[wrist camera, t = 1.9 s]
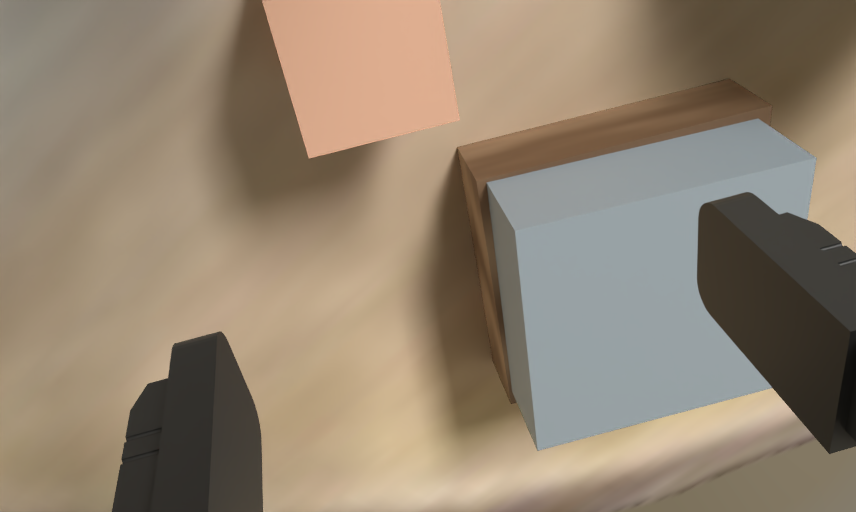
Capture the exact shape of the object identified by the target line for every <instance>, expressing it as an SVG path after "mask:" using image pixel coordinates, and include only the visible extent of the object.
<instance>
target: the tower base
mask: <svg viewBox="0 0 856 512" xmlns="http://www.w3.org/2000/svg"><path fill="white" fill-rule="evenodd" d="M771 112H772V105H770V104H769V103H767V102H766V101H764V100H762V99H761V98H759V97H758V96H756V95H755V94H753V93H751V92H750V91H748V90H747V89H745V88H744V87H742V86H740V85H739V84H737V83H736V82H734V81H733V80H731V79H726V80H722V81H718V82H714V83H710V84H706V85H702V86H699V87H695V88H691V89H687V90H683V91H679V92H675V93H671V94H667V95H663V96H659V97H655V98H651V99H647V100H643V101H639V102H635V103H631V104H627V105H623V106H619V107H615V108H611V109H607V110H603V111H599V112H595V113H591V114H587V115H583V116H579V117H575V118H571V119H567V120H563V121H559V122H555V123H551V124H547V125H543V126H539V127H535V128H532V129H528V130H524V131H520V132H516V133H512V134H508V135H504V136H500V137H496V138H492V139H488V140H484V141H480V142H476V143H472V144H468V145H464V146H460V147H457V149H458V155H459V161H460V167H461V173H462V179H463V185H464V191H465V197H466V203H467V209H468V215H469V221H470V227H471V233H472V239H473V245H474V251H475V257H476V263H477V269H478V275H479V281H480V287H481V293H482V299H483V305H484V311H485V317H486V323H487V329H488V335H489V341H490V347H491V353H492V359H493V362H494V365H495V367H496V369H497V372H498V374H499V377H500V379H501V381H502V384H503V386H504V388H505V391H506V393H507V396H508V398H509V400H510V403H511V404H513V403H517V402H516V399H515V397H514V395H513V393H512V386H511V378H510V370H509V362H508V354H507V346H506V337H505V329H504V321H503V313H502V305H501V297H500V288H499V280H498V272H497V264H496V256H495V248H494V240H493V231H492V223H491V215H490V207H489V199H488V191H487V182H491V181H495V180H499V179H504V178H508V177H512V176H516V175H521V174H525V173H529V172H533V171H538V170H542V169H546V168H550V167H555V166H559V165H563V164H567V163H572V162H576V161H580V160H584V159H588V158H593V157H597V156H601V155H605V154H610V153H614V152H618V151H622V150H627V149H631V148H635V147H639V146H644V145H648V144H652V143H656V142H661V141H665V140H669V139H673V138H677V137H682V136H686V135H690V134H694V133H699V132H703V131H707V130H711V129H716V128H720V127H724V126H728V125H733V124H737V123H741V122H745V121H749V120H754V119H760V120H761V121H763V122H764V123H766V124H767V125H769V126H770V123H771Z"/></svg>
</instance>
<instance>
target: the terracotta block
mask: <svg viewBox="0 0 856 512" xmlns="http://www.w3.org/2000/svg"><path fill="white" fill-rule="evenodd" d="M262 3H263V6H264V9H265V13H266V16H267V20H268V23H269V26H270V30H271V33H272V36H273V40H274V43H275V46H276V50H277V53H278V57H279V60H280V63H281V67H282V70H283V73H284V77H285V80H286V83H287V87H288V90H289V94H290V97H291V100H292V104H293V107H294V110H295V114H296V117H297V120H298V124H299V127H300V131H301V134H302V137H303V141H304V144H305V147H306V151H307V154H308V157H309V158H313V157H317V156H321V155H325V154H329V153H333V152H337V151H341V150H345V149H349V148H353V147H356V146H360V145H364V144H368V143H372V142H376V141H380V140H384V139H388V138H392V137H396V136H400V135H404V134H408V133H412V132H416V131H420V130H424V129H427V128H431V127H435V126H439V125H443V124H447V123H451V122H455V121H459V120H460V118H459V112H458V106H457V100H456V94H455V88H454V82H453V76H452V70H451V64H450V58H449V52H448V46H447V40H446V34H445V28H444V22H443V16H442V10H441V4H440V0H262Z"/></svg>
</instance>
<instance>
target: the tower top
mask: <svg viewBox="0 0 856 512" xmlns="http://www.w3.org/2000/svg"><path fill="white" fill-rule="evenodd" d="M815 165H816V157H814V156H813V155H811V154H810V153H808V152H807V151H806V150H804V149H803V148H801V147H800V146H798V145H797V144H795V143H794V142H792V141H791V140H789V139H788V138H786V137H785V136H783V135H782V134H780V133H779V132H777V131H776V130H774V129H773V128H771V127H770V126H769V125H767V124H766V123H764V122H763V121H761V120H760V119H754V120H749V121H745V122H741V123H737V124H733V125H728V126H724V127H720V128H716V129H711V130H707V131H703V132H699V133H694V134H690V135H686V136H682V137H677V138H673V139H669V140H665V141H661V142H656V143H652V144H648V145H644V146H639V147H635V148H631V149H627V150H622V151H618V152H614V153H610V154H605V155H601V156H597V157H593V158H588V159H584V160H580V161H576V162H572V163H567V164H563V165H559V166H555V167H550V168H546V169H542V170H538V171H533V172H529V173H525V174H521V175H516V176H512V177H508V178H504V179H499V180H495V181H491V182H487V191H488V199H489V207H490V215H491V223H492V231H493V240H494V248H495V256H496V264H497V272H498V280H499V288H500V297H501V305H502V313H503V321H504V329H505V337H506V346H507V354H508V362H509V370H510V378H511V386H512V393H513V395H514V397H515V399H516V402H517V404H518V406H519V409H520V411H521V413H522V416H523V418H524V420H525V423H526V425H527V427H528V430H529V432H530V434H531V437H532V439H533V441H534V444H535V446H536V448H537V450H538V451H539V450H542V449H546V448H550V447H554V446H557V445H561V444H565V443H569V442H572V441H576V440H580V439H583V438H587V437H591V436H595V435H598V434H602V433H606V432H610V431H613V430H617V429H621V428H625V427H628V426H632V425H636V424H639V423H643V422H647V421H651V420H654V419H658V418H662V417H666V416H669V415H673V414H677V413H681V412H684V411H688V410H692V409H695V408H699V407H703V406H707V405H710V404H714V403H718V402H722V401H725V400H729V399H733V398H736V397H740V396H744V395H748V394H751V393H755V392H759V391H763V390H766V389H770V388H772V387H771V385H770V384H769V383H768V382H767V381H766V380H765V378H764V377H763V376H762V375H761V374H760V373H759V371H758V370H757V369H756V368H755V367H754V366H753V364H752V363H751V362H750V361H749V360H748V359H747V357H746V356H745V355H744V354H743V353H742V352H741V350H740V349H739V348H738V347H737V346H736V345H735V343H734V342H733V341H732V340H731V339H730V338H729V336H728V335H727V334H726V333H725V332H724V331H723V329H722V328H721V327H720V326H719V325H718V324H717V322H716V321H715V320H714V319H713V318H712V317H711V315H710V314H709V313H708V311H707V310H706V308H705V306H704V304H703V302H702V300H701V297H700V294H699V290H698V285H697V251H698V216H699V210H700V208H701V206H702V205H703V204H704V203H707V202H711V201H715V200H718V199H722V198H726V197H730V196H733V195H737V194H741V193H745V192H750V193H753V194H754V195H756V196H757V197H758V198H759V199H761V200H762V201H763V202H764V203H766V204H767V205H768V206H769V207H770V208H772V209H773V210H774V211H775V212H776V213H778V214H783V213H786V212H788V213H791V214H793V215H796V216H798V217H801V218H804V219H806V220H807V218H808V211H809V204H810V198H811V191H812V185H813V178H814V171H815Z"/></svg>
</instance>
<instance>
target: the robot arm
mask: <svg viewBox="0 0 856 512" xmlns="http://www.w3.org/2000/svg"><path fill="white" fill-rule="evenodd" d="M697 285H698V290H699V294H700V297H701V300H702V302H703V304H704V306H705V308H706V310H707V311H708V313H709V314H710V315H711V317H712V318H713V319H714V320H715V321H716V322H717V324H718V325H719V326H720V327H721V328H722V329H723V331H724V332H725V333H726V334H727V335H728V336H729V338H730V339H731V340H732V341H733V342H734V343H735V345H736V346H737V347H738V348H739V349H740V350H741V352H742V353H743V354H744V355H745V356H746V357H747V359H748V360H749V361H750V362H751V363H752V364H753V366H754V367H755V368H756V369H757V370H758V371H759V373H760V374H761V375H762V376H763V377H764V378H765V380H766V381H767V382H768V383H769V384H770V385H771V387H772V388H773V389H774V390H775V391H776V392H777V394H778V395H779V396H780V397H781V398H782V399H783V401H784V402H785V403H786V404H787V405H788V406H789V408H790V409H791V410H792V411H793V412H794V413H795V415H796V416H797V417H798V418H799V419H800V420H801V422H802V423H803V424H804V425H805V426H806V427H807V428H808V430H809V431H810V432H811V433H812V434H813V435H814V437H815V438H816V439H817V440H818V441H819V442H820V444H821V445H822V446H823V447H824V448H825V449H826V451H827V452H828V453H829V454H831V453H834V452H837V451H841V450H844V449H848V448H851V447H854V446H856V253H855V252H853V251H852V250H851V249H849V248H848V247H847V246H842V243H841V241H839V240H838V239H837V238H835V237H834V236H833V235H832V234H830V233H829V232H828V231H827V230H825V229H824V228H823V227H821V226H820V225H819V224H816V223H814V222H811V221H809V220H806V219H804V218H801V217H798V216H796V215H793V214H791V213H788V212H786V213H783V214H778V213H776V212H775V211H774V210H773V209H772V208H770V207H769V206H768V205H767V204H766V203H764V202H763V201H762V200H761V199H759V198H758V197H757V196H756V195H754V194H753V193H750V192H745V193H741V194H737V195H733V196H730V197H726V198H722V199H718V200H715V201H711V202H707V203H704V204H703V205H702V206H701V208H700V210H699V216H698V251H697ZM126 440H127V442H125V443H124V448H123V454H122V462H123V464H122V465H120V470H119V476H118V481H117V487H116V492H115V498H114V503H113V509H112V512H263V493H262V448H261V430H260V424H259V419H258V415H257V411H256V407H255V404H254V401H253V399H252V396H251V394H250V392H249V389H248V387H247V385H246V382H245V380H244V378H243V375H242V373H241V371H240V368H239V366H238V364H237V361H236V359H235V357H234V354H233V352H232V350H231V347H230V345H229V343H228V341H227V339H226V337H225V335H224V334H223V333H222V332H216V333H213V334H209V335H205V336H201V337H198V338H194V339H190V340H186V341H183V342H179V343H175V344H174V345H173V347H172V353H171V361H170V369H169V376H168V378H167V379H164V380H160V381H156V382H153V383H149V384H147V386H146V387H145V389H144V391H143V392H142V394H141V395H140V397H139V398H138V400H137V401H136V403H135V404H134V406H133V407H132V409H131V410H130V416H129V421H128V427H127V432H126Z"/></svg>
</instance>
